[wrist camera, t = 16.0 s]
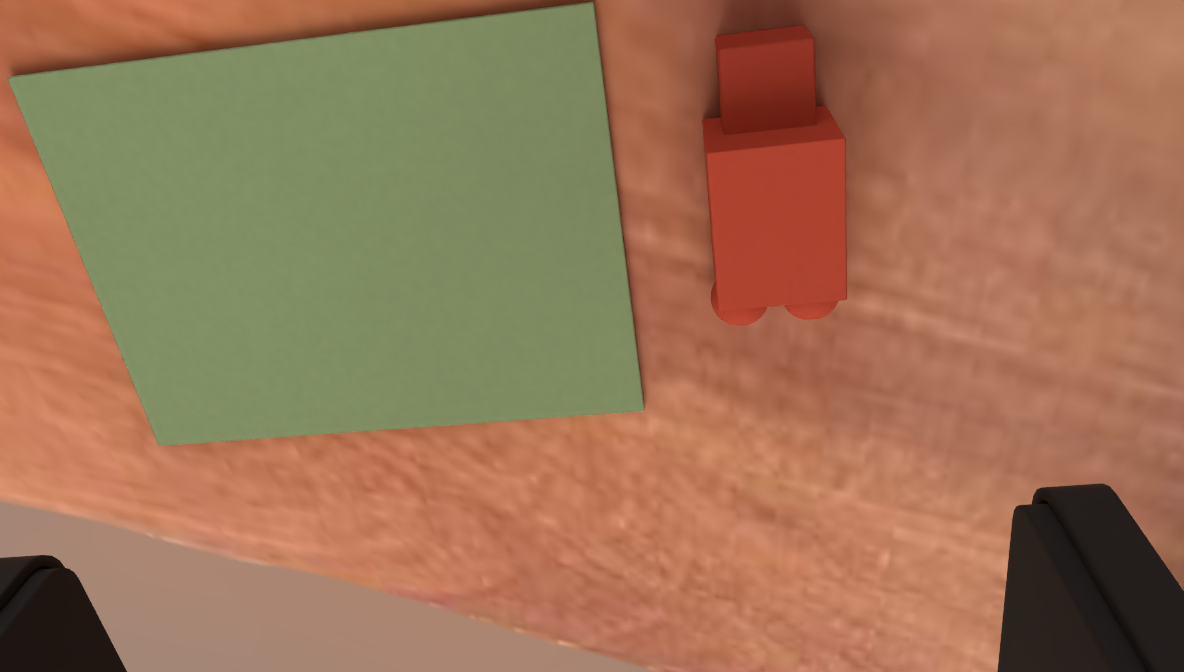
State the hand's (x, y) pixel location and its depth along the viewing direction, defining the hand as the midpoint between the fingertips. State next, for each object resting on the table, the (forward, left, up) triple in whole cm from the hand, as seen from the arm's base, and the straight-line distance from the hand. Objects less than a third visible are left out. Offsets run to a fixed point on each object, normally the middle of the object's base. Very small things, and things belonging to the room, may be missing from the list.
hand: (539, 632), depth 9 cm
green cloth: (+5, -11, -24) cm, 27 cm away
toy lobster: (+4, +4, -24) cm, 24 cm away
